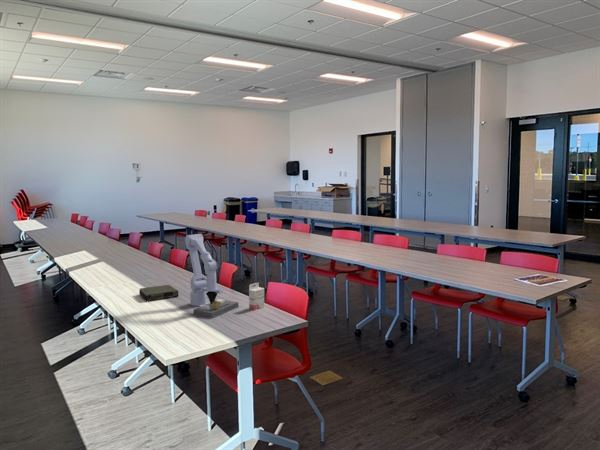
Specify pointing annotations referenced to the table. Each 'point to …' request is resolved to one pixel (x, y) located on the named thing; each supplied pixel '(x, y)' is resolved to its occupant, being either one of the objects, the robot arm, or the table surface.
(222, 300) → the ivory button
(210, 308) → the control panel
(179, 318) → the table surface
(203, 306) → the grey button
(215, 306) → the brass slider
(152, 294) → the network switch
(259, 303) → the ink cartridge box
